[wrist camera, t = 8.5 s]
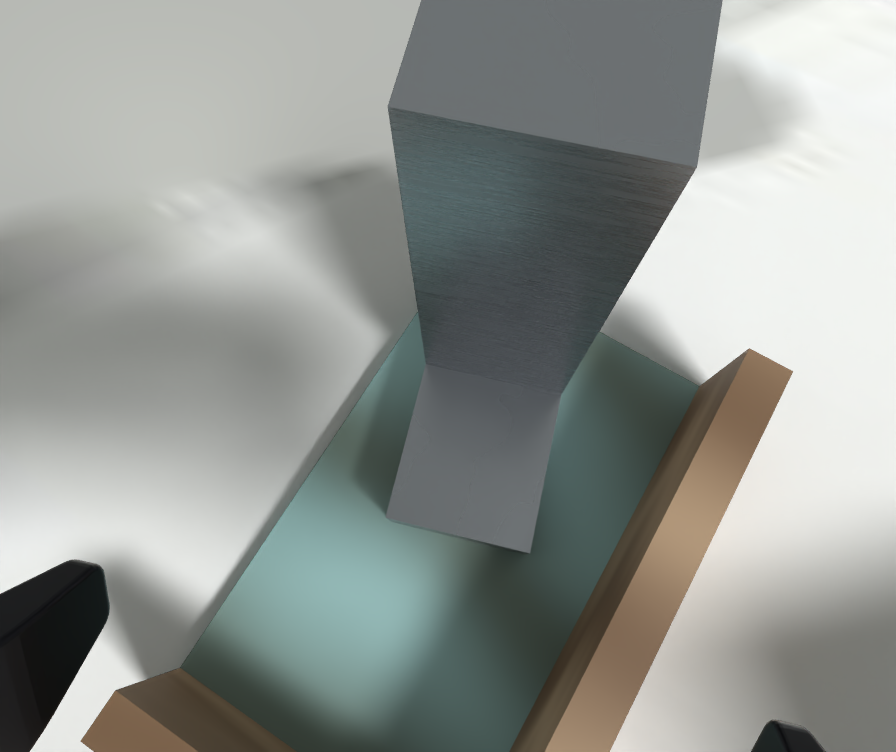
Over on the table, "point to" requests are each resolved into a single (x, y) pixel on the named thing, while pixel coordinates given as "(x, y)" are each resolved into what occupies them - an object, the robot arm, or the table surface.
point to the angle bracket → (528, 224)
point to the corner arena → (466, 582)
